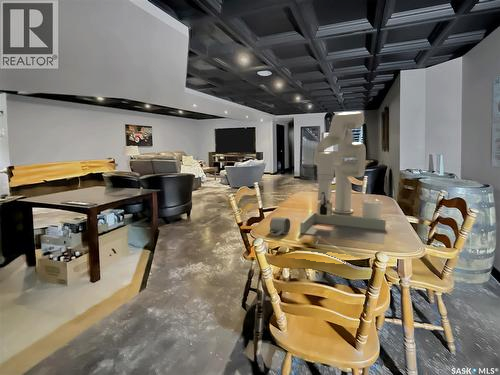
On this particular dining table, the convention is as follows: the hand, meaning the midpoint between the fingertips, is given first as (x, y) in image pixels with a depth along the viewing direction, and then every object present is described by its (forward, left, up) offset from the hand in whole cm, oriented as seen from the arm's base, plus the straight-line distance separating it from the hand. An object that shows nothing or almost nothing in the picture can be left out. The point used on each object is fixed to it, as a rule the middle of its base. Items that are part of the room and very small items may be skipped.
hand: (324, 212), depth 139 cm
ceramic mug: (+17, -18, -8) cm, 26 cm away
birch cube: (0, 0, -1) cm, 1 cm away
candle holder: (-19, +21, -8) cm, 29 cm away
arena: (+2, +10, -8) cm, 13 cm away
